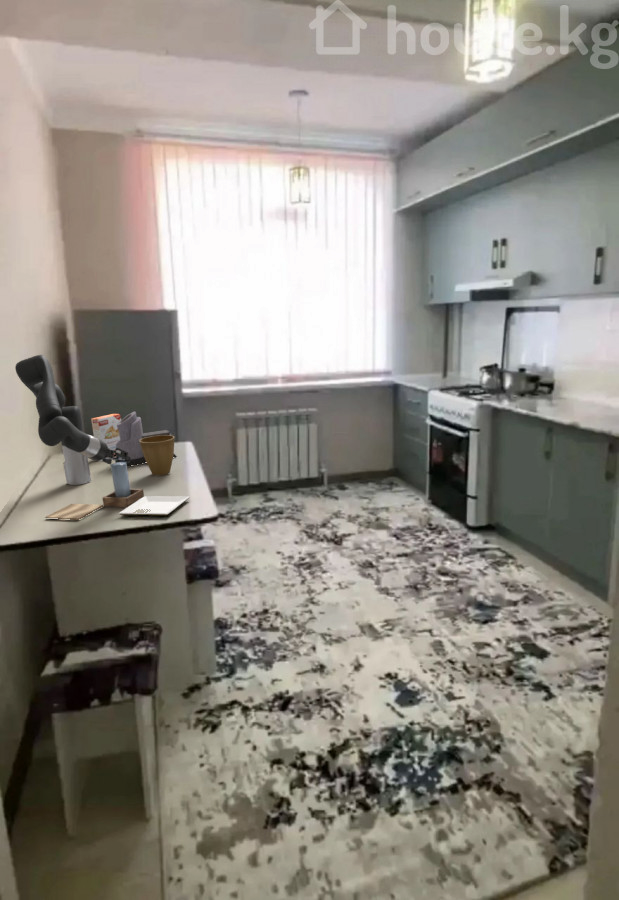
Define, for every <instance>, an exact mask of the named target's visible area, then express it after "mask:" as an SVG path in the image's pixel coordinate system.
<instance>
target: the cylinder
mask: <svg viewBox="0 0 619 900" xmlns="http://www.w3.org/2000/svg"><path fill="white" fill-rule="evenodd" d="M110 469H111V476H112V483H113V489H114V491H115V496H116V497H124V498H127V497H129V496H130V495H131V491H130V489H131V485H130V479H129V473H128V467H127V465H126V462H118V463H116V462H114V463H111V464H110Z"/></svg>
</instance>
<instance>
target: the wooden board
mask: <svg viewBox="0 0 619 900" xmlns="http://www.w3.org/2000/svg"><path fill="white" fill-rule="evenodd" d="M101 507H103V508H104V504H91V503H90V504H89V503H88V504H86V503H83V504H82V503H70V504H68V505H67V506H63V507H62V508H60V509H58V510H56V511H54V512H53V513H51V514H48V515H46V516H45V517H44V519H45V518H58V519H70V520H79V519H81V518H83V517H85V516H86V515H88V514H90V513H92V512H93V511H95V510H97V509H99V508H101ZM101 509H102V508H101ZM92 514H93V513H92ZM85 518H86V517H85ZM83 519H84V518H83Z"/></svg>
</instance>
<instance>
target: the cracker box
mask: <svg viewBox="0 0 619 900" xmlns="http://www.w3.org/2000/svg"><path fill="white" fill-rule="evenodd" d="M90 419H91V421H90V422H91V426H92V432H93V433H92V434H93V437H95V438H97V439H99V440H101V441H103V442H105V443H106V444H107V446H108V448H111V449H113V450H116V443H117V442H118V441H119V440H120V436H119V430H118V428H117V424H118V423H119V422H120V421H121V420H122V418H121V414H119V413H111V414H107V415H102V416H98V417H93V418H90ZM114 455H115V454H114Z"/></svg>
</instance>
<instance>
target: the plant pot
mask: <svg viewBox="0 0 619 900" xmlns="http://www.w3.org/2000/svg"><path fill="white" fill-rule="evenodd" d="M139 441H140V445H141V449H142V452H143V455H144V457H145V460H146V462H147V463H146V464H147V467H148V468H149V470H150V473H151V474H152V476H154V475H162V476H165V474H166V475H169V474H170V472H171V468H172V464H173V460H174V458H173V454H175V436H174V435H172V436H171V435H158V436H151V437H146V438H142V439H140V440H139ZM168 473H169V474H168Z"/></svg>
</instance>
